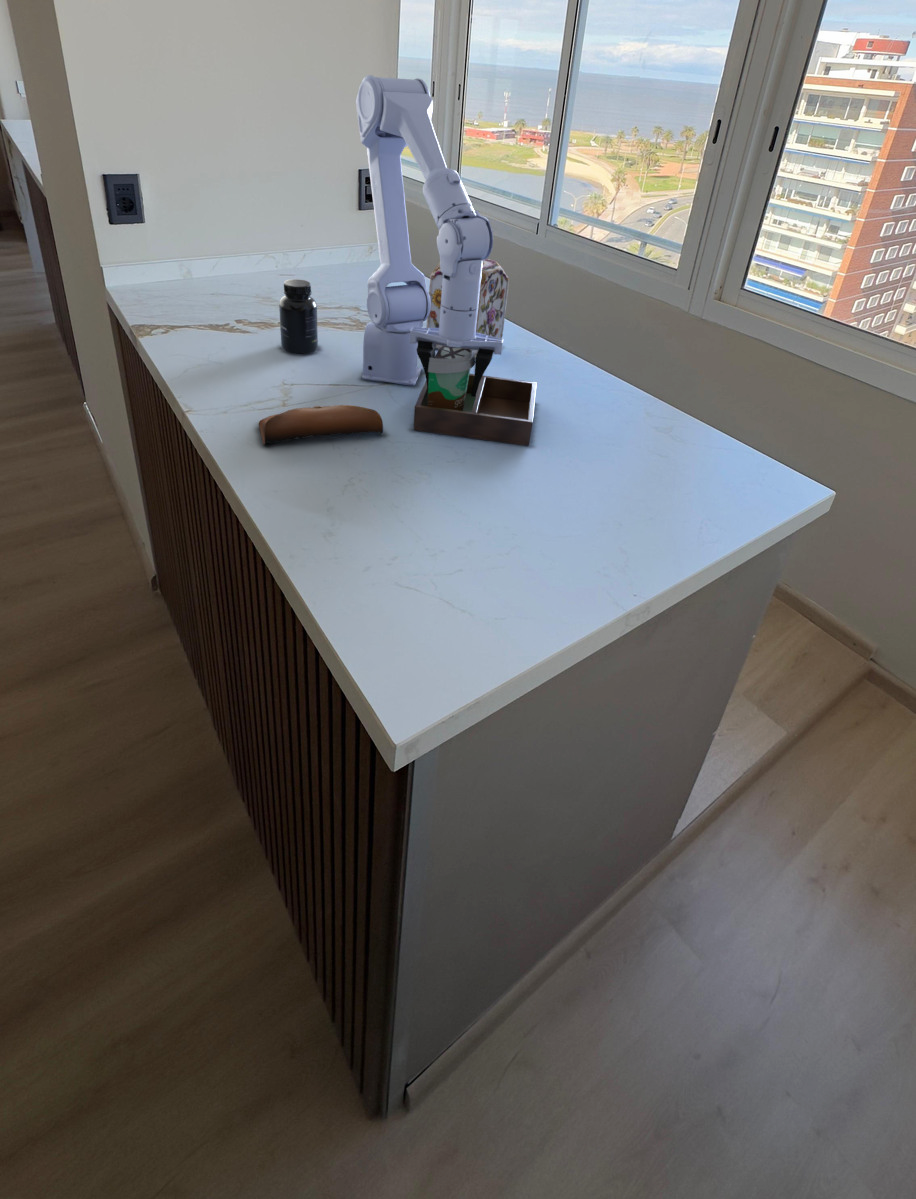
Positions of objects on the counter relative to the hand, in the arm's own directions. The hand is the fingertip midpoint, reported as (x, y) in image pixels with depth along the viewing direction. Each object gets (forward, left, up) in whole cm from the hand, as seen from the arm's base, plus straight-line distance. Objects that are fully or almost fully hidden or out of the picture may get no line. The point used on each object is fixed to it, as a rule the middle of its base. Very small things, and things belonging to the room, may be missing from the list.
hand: (452, 391), depth 119 cm
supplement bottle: (-32, +20, -4) cm, 38 cm away
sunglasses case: (-19, -13, -4) cm, 23 cm away
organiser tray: (+4, 0, -4) cm, 6 cm away
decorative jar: (-2, +33, -4) cm, 33 cm away
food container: (0, 0, -3) cm, 3 cm away
